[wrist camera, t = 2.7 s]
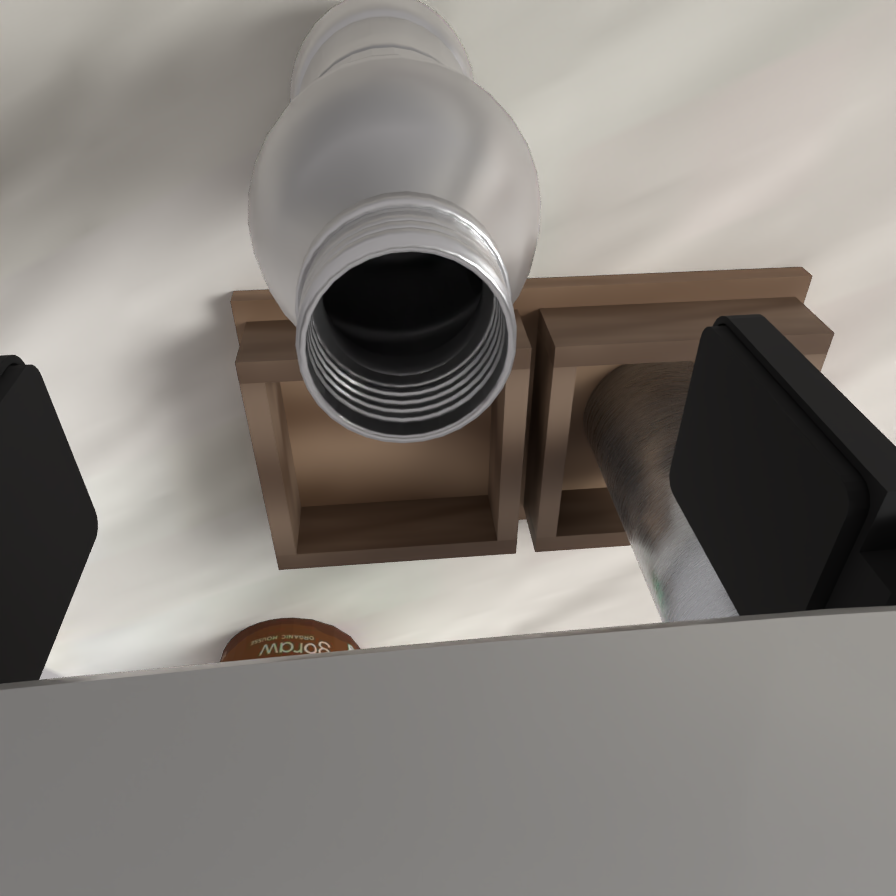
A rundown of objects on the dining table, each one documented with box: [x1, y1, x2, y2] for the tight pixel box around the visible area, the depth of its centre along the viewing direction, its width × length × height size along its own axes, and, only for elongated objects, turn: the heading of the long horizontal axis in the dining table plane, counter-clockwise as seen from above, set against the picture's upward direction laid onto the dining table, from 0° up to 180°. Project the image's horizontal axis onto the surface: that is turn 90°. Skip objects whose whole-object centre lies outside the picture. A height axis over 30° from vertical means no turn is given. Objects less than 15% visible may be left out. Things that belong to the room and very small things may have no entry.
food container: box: [220, 618, 360, 662], centre depth 42 cm, size 12×6×10 cm, turn 91°
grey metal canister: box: [583, 361, 739, 623], centre depth 30 cm, size 7×7×18 cm
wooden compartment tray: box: [230, 267, 834, 570], centre depth 35 cm, size 14×26×4 cm, turn 90°
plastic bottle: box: [248, 0, 541, 443], centre depth 19 cm, size 6×7×20 cm
